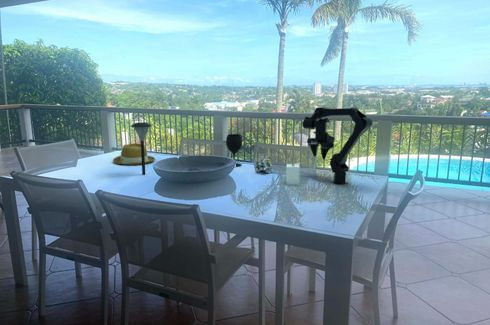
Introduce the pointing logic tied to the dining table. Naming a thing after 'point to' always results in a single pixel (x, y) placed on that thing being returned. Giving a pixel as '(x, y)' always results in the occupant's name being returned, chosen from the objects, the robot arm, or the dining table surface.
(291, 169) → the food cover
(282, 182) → the placemat
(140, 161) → the fedora
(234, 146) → the wine glass
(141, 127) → the solar garden light
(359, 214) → the dining table surface
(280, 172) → the dining table surface
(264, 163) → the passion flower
